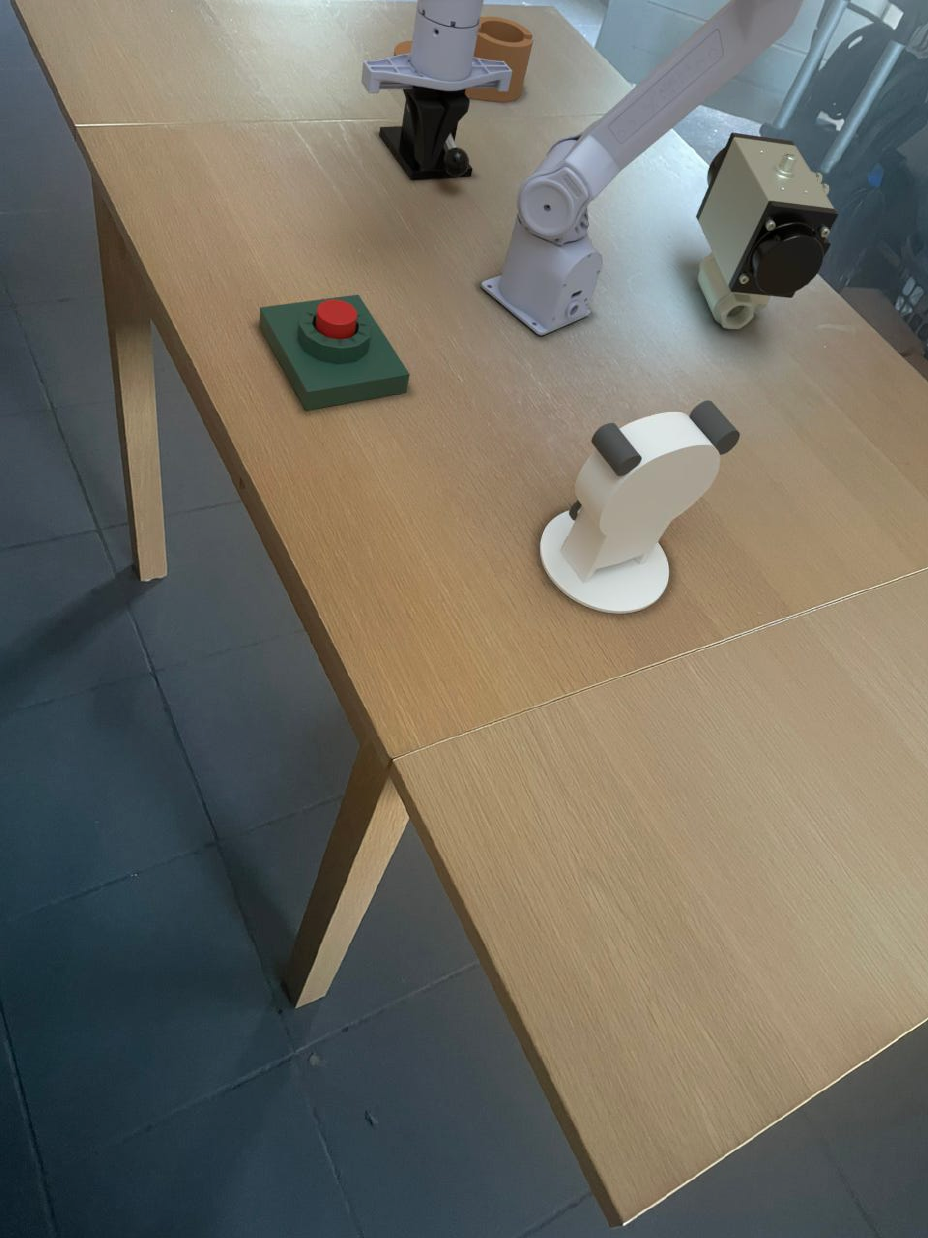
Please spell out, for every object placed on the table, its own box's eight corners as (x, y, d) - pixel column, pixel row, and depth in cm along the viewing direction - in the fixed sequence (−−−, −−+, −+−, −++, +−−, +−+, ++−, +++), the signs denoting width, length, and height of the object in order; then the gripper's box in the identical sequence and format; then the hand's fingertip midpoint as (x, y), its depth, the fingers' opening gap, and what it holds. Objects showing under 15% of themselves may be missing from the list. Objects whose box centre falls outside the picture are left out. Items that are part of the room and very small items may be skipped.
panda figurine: (626, 496, 84) (690, 364, 72) (698, 589, 79) (780, 464, 67) (515, 527, 79) (564, 391, 67) (584, 629, 74) (651, 502, 62)
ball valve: (781, 362, 101) (868, 212, 87) (710, 356, 99) (788, 201, 85) (733, 264, 111) (805, 115, 97) (668, 257, 109) (732, 104, 95)
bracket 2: (471, 176, 111) (484, 110, 105) (411, 180, 108) (421, 112, 102) (437, 132, 116) (448, 67, 110) (378, 134, 113) (386, 67, 106)
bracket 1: (513, 74, 130) (525, 20, 124) (526, 104, 125) (539, 50, 120) (387, 59, 125) (394, 2, 119) (396, 89, 120) (404, 32, 115)
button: (361, 337, 84) (363, 321, 82) (324, 343, 82) (325, 326, 81) (346, 312, 85) (347, 296, 84) (309, 318, 84) (310, 301, 83)
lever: (467, 181, 107) (476, 162, 105) (444, 182, 106) (452, 163, 103) (436, 105, 109) (444, 84, 107) (413, 105, 108) (420, 84, 105)
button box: (406, 392, 86) (412, 358, 83) (305, 410, 82) (308, 375, 79) (356, 312, 91) (360, 277, 88) (259, 326, 87) (260, 290, 84)
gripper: (500, -6, 86) (471, 138, 97) (356, -11, 81) (342, 143, 91) (534, 30, 83) (500, 175, 94) (385, 28, 77) (368, 182, 88)
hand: (424, 162), depth 92 cm, fingers closed
